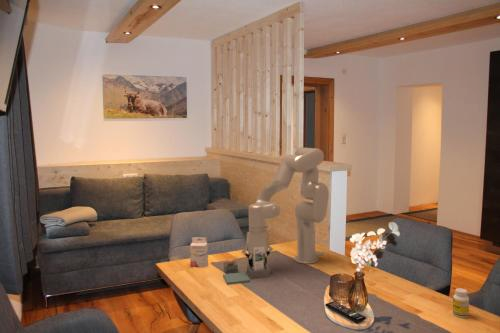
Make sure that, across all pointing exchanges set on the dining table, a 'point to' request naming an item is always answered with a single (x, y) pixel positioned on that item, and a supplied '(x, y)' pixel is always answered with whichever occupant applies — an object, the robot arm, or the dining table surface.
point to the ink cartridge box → (199, 252)
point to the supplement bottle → (461, 303)
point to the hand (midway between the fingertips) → (257, 265)
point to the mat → (236, 278)
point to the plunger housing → (230, 268)
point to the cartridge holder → (258, 272)
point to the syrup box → (258, 258)
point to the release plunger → (230, 260)
